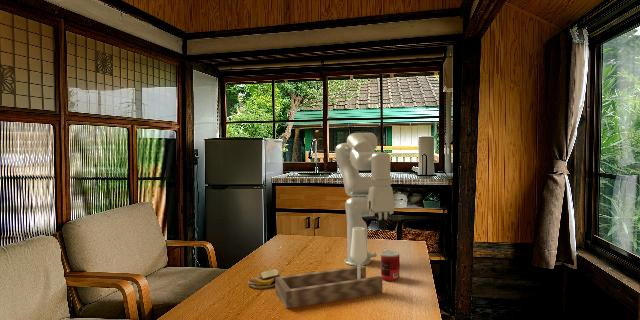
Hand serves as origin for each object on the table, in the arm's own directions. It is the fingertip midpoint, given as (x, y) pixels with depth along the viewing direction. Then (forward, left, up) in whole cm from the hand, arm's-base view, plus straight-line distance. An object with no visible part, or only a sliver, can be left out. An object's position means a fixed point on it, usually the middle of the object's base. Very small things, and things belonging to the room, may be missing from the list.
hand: (381, 229), depth 158 cm
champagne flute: (+10, 0, -23) cm, 25 cm away
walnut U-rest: (+23, 0, -23) cm, 32 cm away
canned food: (-7, -5, -23) cm, 25 cm away
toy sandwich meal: (+44, -20, -23) cm, 54 cm away
